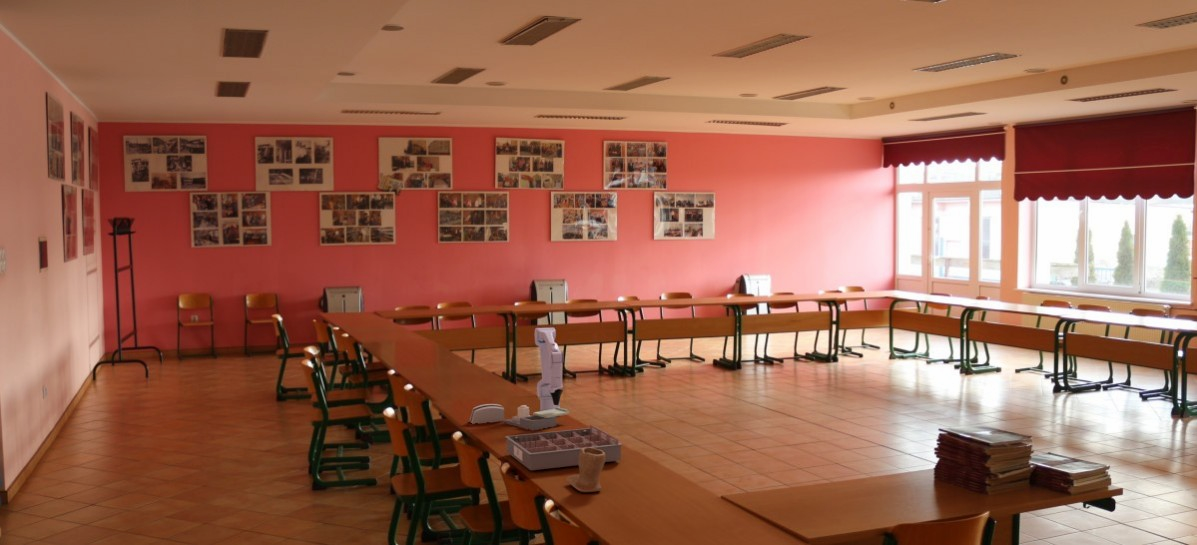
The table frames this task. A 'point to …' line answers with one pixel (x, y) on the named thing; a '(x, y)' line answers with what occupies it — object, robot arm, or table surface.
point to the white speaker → (487, 413)
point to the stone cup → (588, 470)
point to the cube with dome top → (523, 411)
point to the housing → (532, 422)
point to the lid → (552, 412)
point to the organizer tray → (561, 447)
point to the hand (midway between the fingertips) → (556, 404)
